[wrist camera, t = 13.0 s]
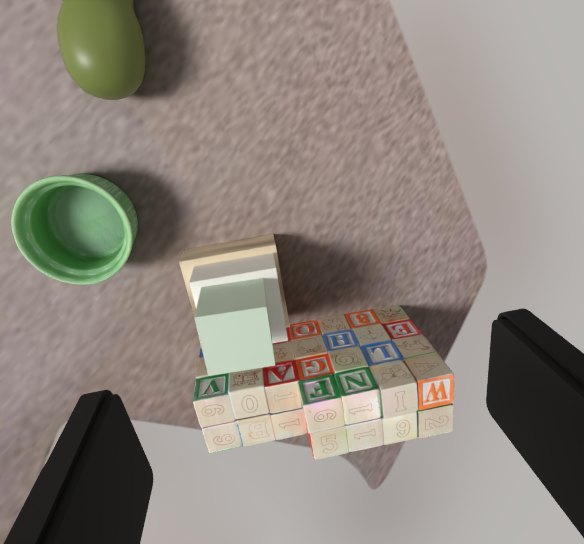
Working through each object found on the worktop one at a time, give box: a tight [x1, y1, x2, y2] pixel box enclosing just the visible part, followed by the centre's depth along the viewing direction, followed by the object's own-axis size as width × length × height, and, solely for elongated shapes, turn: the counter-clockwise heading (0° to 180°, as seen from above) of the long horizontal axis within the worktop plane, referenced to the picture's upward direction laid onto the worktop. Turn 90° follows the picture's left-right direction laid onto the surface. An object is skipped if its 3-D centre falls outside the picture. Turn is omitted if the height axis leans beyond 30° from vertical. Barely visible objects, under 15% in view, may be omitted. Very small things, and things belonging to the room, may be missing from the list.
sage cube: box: [195, 278, 275, 376], centre depth 31 cm, size 5×5×5 cm
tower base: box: [179, 234, 290, 328], centre depth 39 cm, size 8×8×4 cm
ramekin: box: [12, 174, 138, 285], centre depth 34 cm, size 9×9×4 cm
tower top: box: [189, 253, 288, 343], centre depth 35 cm, size 7×7×4 cm
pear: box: [57, 0, 145, 100], centre depth 29 cm, size 6×5×10 cm
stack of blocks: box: [193, 305, 454, 460], centre depth 38 cm, size 21×6×12 cm, turn 98°
